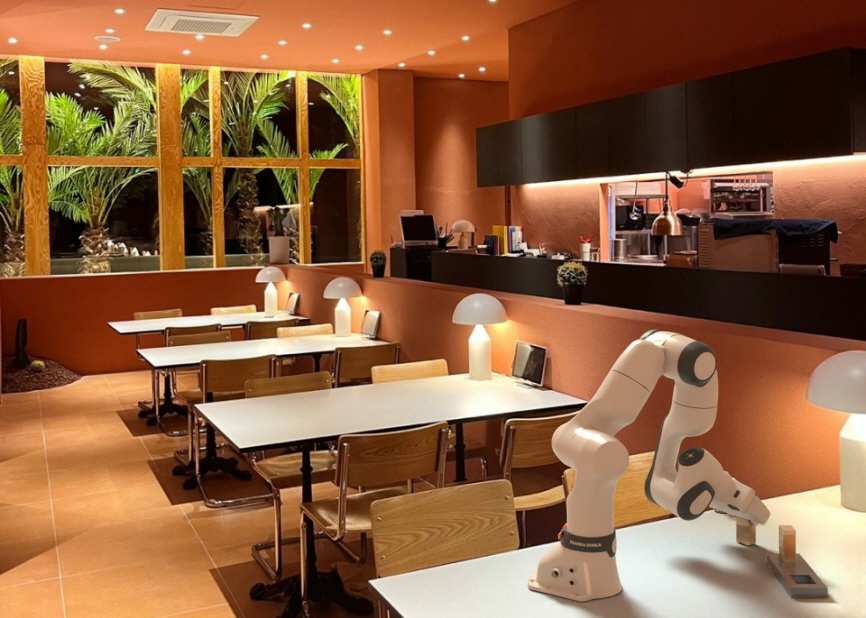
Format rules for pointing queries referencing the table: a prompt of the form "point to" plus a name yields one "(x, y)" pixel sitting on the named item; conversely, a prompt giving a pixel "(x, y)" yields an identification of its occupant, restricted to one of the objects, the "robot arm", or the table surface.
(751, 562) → the table surface
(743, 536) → the wooden block
